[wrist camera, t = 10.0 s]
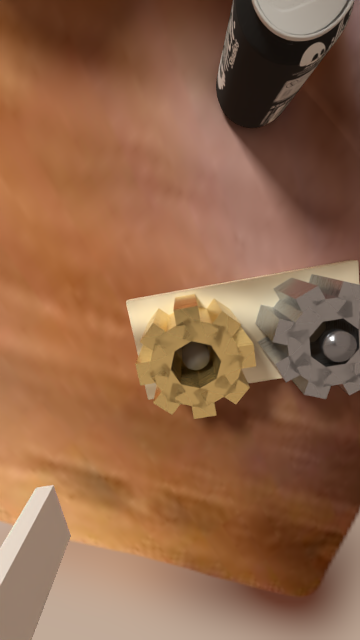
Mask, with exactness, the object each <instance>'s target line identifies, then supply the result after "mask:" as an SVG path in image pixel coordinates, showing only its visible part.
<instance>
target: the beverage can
mask: <svg viewBox="0 0 360 640" xmlns="http://www.w3.org/2000/svg"><path fill="white" fill-rule="evenodd" d="M353 4H354V0H233V3H232V8H231V13H230V18H229V23H228V27H227V32H226V37H225V42H224V46H223V51H222V56H221V61H220V66H219V70H218V75H217V82H216V90H217V97H218V101H219V103H220V106H221V108H222V110H223V112H224V113H225V114H226V116H227V117H228V118H229V119H230V120H232V121H233V122H234V123H236V124H238V125H240V126H243V127H248V128H257V127H261V126H264V125H267V124H269V123H271V122H272V121H274V120H275V119H276V118H277V117H278V116H279V115H280V114H281V113H282V112H283V110H284V109H285V108H286V107H287V105H288V104H289V103H290V101H291V100H292V99H293V97H294V96H295V95H296V93H297V92H298V91H299V89H300V88H301V87H302V85H303V84H304V83H305V81H306V80H307V79H308V77H309V76H310V75H311V74H312V72H313V71H314V70H315V68H316V67H317V66H318V64H319V63H320V62H321V60H322V59H323V58H324V56H325V55H326V54H327V52H328V51H329V50H330V48H331V47H332V46H333V44H334V43H335V42H336V41H337V39H338V38H339V36H340V35H341V33H342V32H343V30H344V28H345V26H346V24H347V22H348V20H349V17H350V15H351V12H352V8H353Z"/></svg>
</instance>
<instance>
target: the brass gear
mask: <svg viewBox="0 0 360 640" xmlns="http://www.w3.org/2000/svg"><path fill="white" fill-rule="evenodd" d="M173 311H174V312H173V313H172V314H170V315H168V314H167V313H165V312H164V311H162V310H161V309H159V308H158V309H157V311H156V312H155V314H154V315H153V317H152V318H151V320H150V321H149V322H148V324H147V326H146V329H145V331H144V333H143V336H142V338H141V340H140V343H142V344H143V346H142V348H141V351H140V354H139V356H138V359H137V361H136V369H137V373H138V377H139V382H140V385H146V384H152V383H156V391H155V396H154V402H153V403H154V404H156V405H157V406H159V407H161V408H162V409H164V410H165V411H167V412H169V413H170V414H173V413H174V412H175V410H176V409H177V408H178V406H179V405H180V404H184V405H189V406H192V411H193V416H194V419H197V418H204V417H210V416H216V410H215V404H214V402H216V401H218V400H219V399H221V398H223V397H225V398H227V399H228V400H230V401H231V402H233V403H234V404H237V403H238V401H239V400H240V399H241V398H242V397H243V395H244V394H245V393H246V392H247V391H248V389H249V388H250V386H249V384H248V382H247V380H246V378H245V376H244V374H243V371H242V369H243V368H250V367H256V360H255V352H254V344H253V343H252V341H251V340H250V339H249V337H248V336H247V334H246V333H245V332H244V330H243V329H242V327H241V323H240V322H239V321H238V319H237V318H236V317H235V315H234V314H233V313H232V311H231V310H230V309H229V308H228V307H226V306H225V305H223V304H222V303H220V302H219V301H218V300H216V299H215V298H214V299H213V300H212V302H211V303H210V304H209V306H208V307H207V308H201V307H198V305H197V301H196V297H195V294H191V295H186V296H180V297H175V301H174V309H173ZM191 341H193V342H198V343H203V344H208V345H211V346H212V349H211V353H210V354H209V356H210V358H209V362H208V364H207V365H206V366H205V367H204V368H202V369H200V370H192V369H189V368H187V367H186V366H185V365H184V363H183V361H182V359H181V357H180V356H179V355H178V353H177V352H176V350H178V349H179V348H181V347H183V346H184V345H186V344H188V343H189V342H191Z"/></svg>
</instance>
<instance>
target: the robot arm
mask: <svg viewBox="0 0 360 640" xmlns="http://www.w3.org/2000/svg"><path fill="white" fill-rule="evenodd" d="M70 537H71V535H70V532H69V529H68V526H67V523H66V520H65V517H64V515H63V512H62V509H61V506H60V503H59V500H58V497H57V494H56V491H55V488H54V485H51V486H45V487H38V488H36V489H35V490H34V492H33V494H32V495H31V497H30V499H29V501H28V502H27V504H26V506H25V507H24V509H23V511H22V512H21V514H20V516H19V517H18V519H17V521H16V522H15V524H14V526H13V527H12V529H11V531H10V532H9V534H8V536H7V537H6V539H5V541H4V543H3V544H2V546H1V548H0V640H32V637H33V634H34V632H35V629H36V626H37V624H38V621H39V618H40V616H41V613H42V610H43V608H44V605H45V603H46V600H47V597H48V595H49V592H50V589H51V587H52V584H53V582H54V579H55V576H56V574H57V571H58V568H59V566H60V563H61V560H62V558H63V555H64V553H65V550H66V547H67V545H68V542H69V539H70Z"/></svg>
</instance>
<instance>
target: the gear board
mask: <svg viewBox="0 0 360 640" xmlns="http://www.w3.org/2000/svg"><path fill="white" fill-rule="evenodd" d="M311 274H314V275H319V276H323V277H327V278H332V279H336V280H341V281H345V282H350V283H354V284H358V285H359V267H358V260H348V261H342V262H337V263H331V264H326V265H320V266H314V267H309V268H303V269H298V270H292V271H286V272H281V273H275V274H270V275H264V276H258V277H253V278H247V279H242V280H236V281H230V282H225V283H219V284H214V285H208V286H202V287H197V288H191V289H186V290H180V291H174V292H169V293H163V294H158V295H152V296H146V297H141V298H135V299H130V300H127V301H126V304H127V309H128V313H129V317H130V322H131V326H132V331H133V335H134V339H135V344H136V348H137V353H138V356H139V354H140V351H141V348H142V346H143V344H142V343H140V340H141V338H142V336H143V333H144V331H145V329H146V326H147V324H148V322H149V321H150V320H151V318H152V317H153V315H154V314H155V312H156V311H157V309H158V308H159V309H161V310H162V311H164V312H165V313H167V314H168V315H170V314H172V313H173V312H174V311H173V309H174V301H175V297H180V296H186V295H191V294H195V297H196V301H197V305H198V307H201V308H207V307H208V306H209V304H210V303H211V302H212V300H213V299H214V298H215V299H216V300H218V301H219V302H220V303H222V304H223V305H225V306H226V307H228V308H229V309H230V310H231V311H232V313H233V314H234V315H235V317H236V318H237V319H238V321H239V322H240V323H241V327H242V329H243V330H244V332H245V333H246V334H247V336H248V337H249V339H250V340H251V341H252V343H253V344H254V352H255V360H256V367H250V368H243V369H242V371H243V374H244V376H245V378H246V380H247V382H248V383H254V382H261V381H267V380H273V379H279V378H282V376H281V375H280V374H279V372H278V371H277V370H276V368H275V367H274V366H273V364H272V363H271V362H270V360H269V359H268V358H267V356H266V355H265V353H264V351H263V350H262V348H261V346H260V345H259V343H258V341H260V340H261V339H263V338H265V337H267V335H266V334H265V333H264V332H263V331H262V330H261V329H260V328H259V327H258V326H257V325H256V324H255V323H256V320H257V316H258V313H259V309H260V306H261V305H265V306H269V307H274V306H275V305H276V303H277V302H278V301H279V298H278V296H277V294H276V292H275V291H274V289H273V288H275V287H277V286H278V285H280V284H282V283H283V282H285V281H286V280H288V279H290V278H294V279H298V280H301V281H304V282H308V283H309V281H310V278H311ZM325 329H326V324H325V321H324V322H322V323H321V324H320V326H319V327H318V328H317V329H316V330H315V332H314V333H313V334H312V335H311V336H310V338H309V340H310V342H315V341H316V340H317V339H318V337H319V336H320V335H321V334H322V333H323V331H324V330H325ZM211 349H212V346H211V345H208V344H203V343H198V342H193V341H191V342H189V343H188V344H186V345H184V346H183V347H181V348H179V349H178V350H176V352H177V353H178V355H179V356H180V357H181V359H182V361H183V363H184V365H185V366H186V367H187V368H189V369H192V370H200V369H202V368H204V367H205V366H206V365H207V364H208V362H209V358H210V356H209V354H210V353H211ZM145 388H146V392H147V396H148V400H149V399H154V396H155V391H156V383H152V384H146V385H145Z"/></svg>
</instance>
